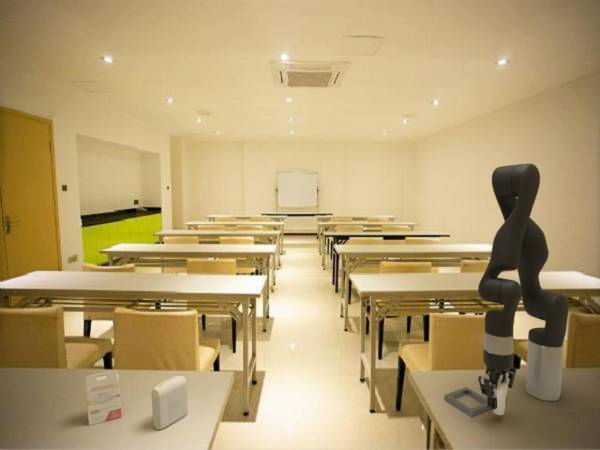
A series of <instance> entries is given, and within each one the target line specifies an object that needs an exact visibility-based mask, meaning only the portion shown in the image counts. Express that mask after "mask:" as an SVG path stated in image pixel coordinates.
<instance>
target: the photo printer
mask: <svg viewBox="0 0 600 450" xmlns="http://www.w3.org/2000/svg"><path fill="white" fill-rule="evenodd" d="M151 407H152V409H151V410H152V411H151V412H152V424H153V428H154V429H155V430H156V431H158V430H163V429H165V428H167V427H168V426H170V425H172V424H173V423H176V422H177V421H180V419H182V418H184V417H185V416H187V415H188V413H189V412H188V411H189V409H188V387H187V380H186V377H185V376H182V375H176V376H172V377H169V378H167V379H166V380H164V381H162V382H160V383H159V384H157V385H156V386H155V387H154V388H152V390H151Z"/></svg>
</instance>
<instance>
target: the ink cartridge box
mask: <svg viewBox="0 0 600 450" xmlns="http://www.w3.org/2000/svg"><path fill="white" fill-rule="evenodd" d="M84 389H85V396H86V399H85V400H86V408H87V409H86V411H87V419H88V421H89V422H88V425H89V426H92V425H96V424H100V423H104V422H107V421H112V420H116V419H120V418H122V403H121V401H122V400H121V392H120V391H121V390H120V381H119V373H118V372H117V370H115V369H114V370H109V371H105V372H99V373H95V374H90V375H86V376H85V388H84ZM103 418H104V419H103ZM98 419H100V420H98ZM95 420H96V421H95ZM90 421H92V422H90Z"/></svg>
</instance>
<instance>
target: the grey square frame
mask: <svg viewBox="0 0 600 450" xmlns="http://www.w3.org/2000/svg"><path fill="white" fill-rule="evenodd" d="M466 395H467V396H469V397H470V398H473V399H475V400H477V401H479V402H480V403H481V404H478V405H477V406H474V407H470V406H467V405H466V404H464V403H462V402H461V401H460V400H458V398H461V397H463V396H466ZM443 399H444V401H446V402H447V403H449V404H451V405H452V406H454V407H455V408H457V409H458V410H460V411H462V412H463V413H465V414H466V415H468V416H470V417H471V418H472V417H475V416H477V415H480V414H481V413H485V412H487V411H488V410H491V408H489V407H488V405H487V396H485V395H484V396H483V394H480V393H478V392H476V391H475V390H473V389H471V388H469V387H467V386H464V387H463V388H460V389H456V390H455V391H452V392H449V393H446V394H444V395H443Z"/></svg>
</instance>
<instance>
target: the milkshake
mask: <svg viewBox="0 0 600 450" xmlns="http://www.w3.org/2000/svg"><path fill="white" fill-rule="evenodd" d="M491 384H492V385H494V386H496V384H493V383H491ZM507 390H508V385H507V384H506V383H505V382H502V383H500V388H499V390H497V394H496V409H494V410H493V409H490V410H491V412H492V413H493V414H495V415H497V416H503V415H505V411H506V404H505V402H506V403H507V401H506V396H507V397H508V392H507ZM491 392H493V388H491Z"/></svg>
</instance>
